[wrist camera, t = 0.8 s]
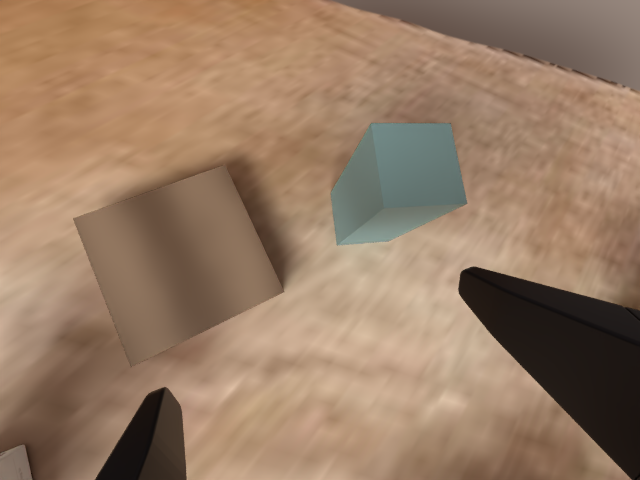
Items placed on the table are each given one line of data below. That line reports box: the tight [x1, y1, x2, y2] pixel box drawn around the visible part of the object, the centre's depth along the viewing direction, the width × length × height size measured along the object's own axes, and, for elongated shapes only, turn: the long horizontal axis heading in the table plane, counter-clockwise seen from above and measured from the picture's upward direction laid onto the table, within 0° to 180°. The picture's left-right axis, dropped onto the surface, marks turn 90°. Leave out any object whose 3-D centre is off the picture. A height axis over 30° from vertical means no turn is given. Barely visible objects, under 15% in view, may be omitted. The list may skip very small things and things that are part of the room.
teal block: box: [331, 123, 467, 245], centre depth 19 cm, size 4×4×10 cm
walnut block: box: [73, 165, 284, 367], centre depth 20 cm, size 10×10×3 cm
